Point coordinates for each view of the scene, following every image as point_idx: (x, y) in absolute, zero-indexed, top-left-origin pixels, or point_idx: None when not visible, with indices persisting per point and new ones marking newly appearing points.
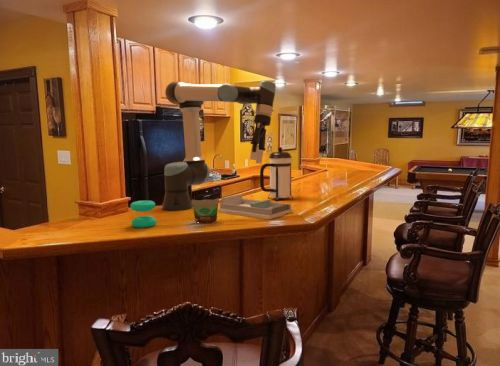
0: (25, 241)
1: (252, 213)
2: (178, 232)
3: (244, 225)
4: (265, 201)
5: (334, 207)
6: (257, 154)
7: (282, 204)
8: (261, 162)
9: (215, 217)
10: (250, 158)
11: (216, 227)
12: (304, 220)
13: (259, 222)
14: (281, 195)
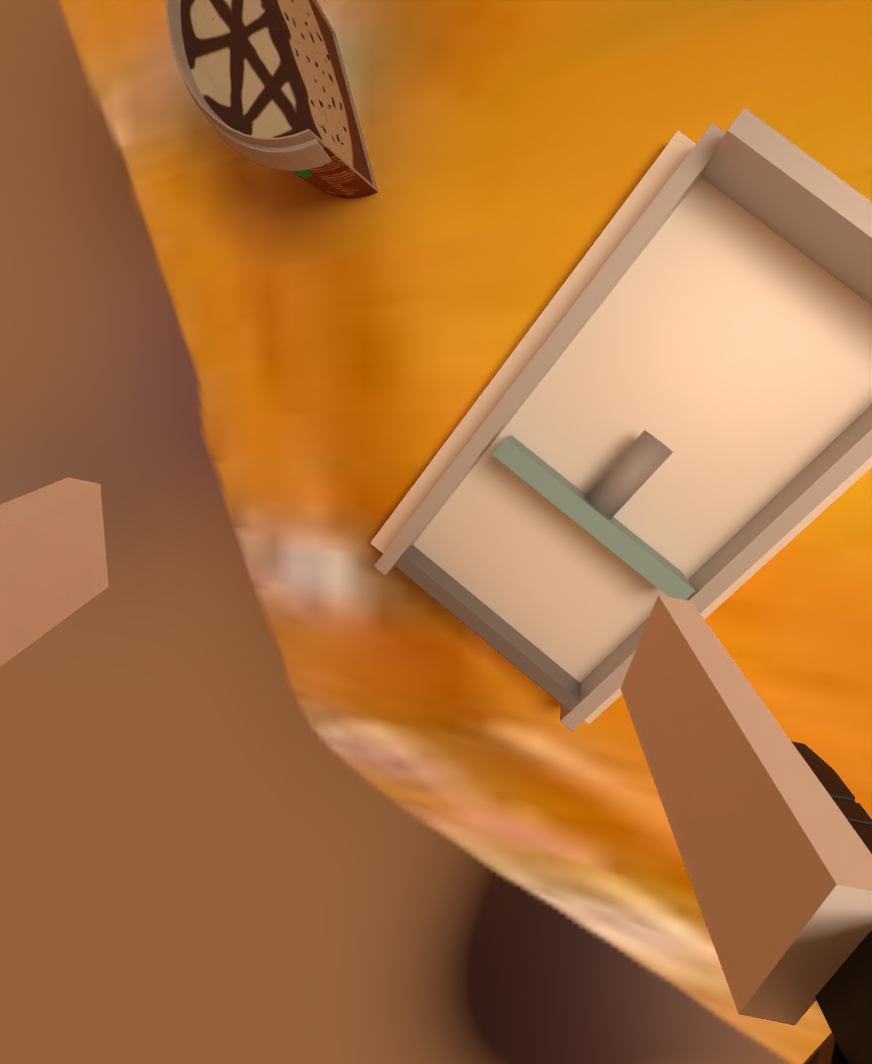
0: None
1: (456, 444)
2: (88, 12)
3: (247, 394)
4: (626, 562)
5: (699, 984)
6: (733, 739)
7: (603, 677)
8: (636, 708)
9: (313, 184)
10: (58, 490)
11: (199, 230)
12: (354, 715)
13: (312, 479)
14: None
